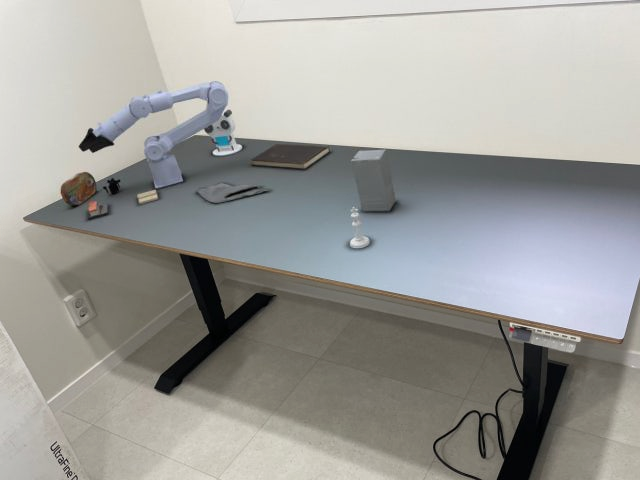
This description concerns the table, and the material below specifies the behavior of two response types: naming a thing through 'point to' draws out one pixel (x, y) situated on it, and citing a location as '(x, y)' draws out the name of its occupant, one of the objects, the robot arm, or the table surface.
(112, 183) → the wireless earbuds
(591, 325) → the table surface
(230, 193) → the cloth
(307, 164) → the hardcover book
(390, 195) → the cosmetic box
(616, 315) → the table surface
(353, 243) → the chess piece
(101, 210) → the sushi plate
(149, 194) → the napkin
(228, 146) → the panda figurine
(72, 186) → the tin
